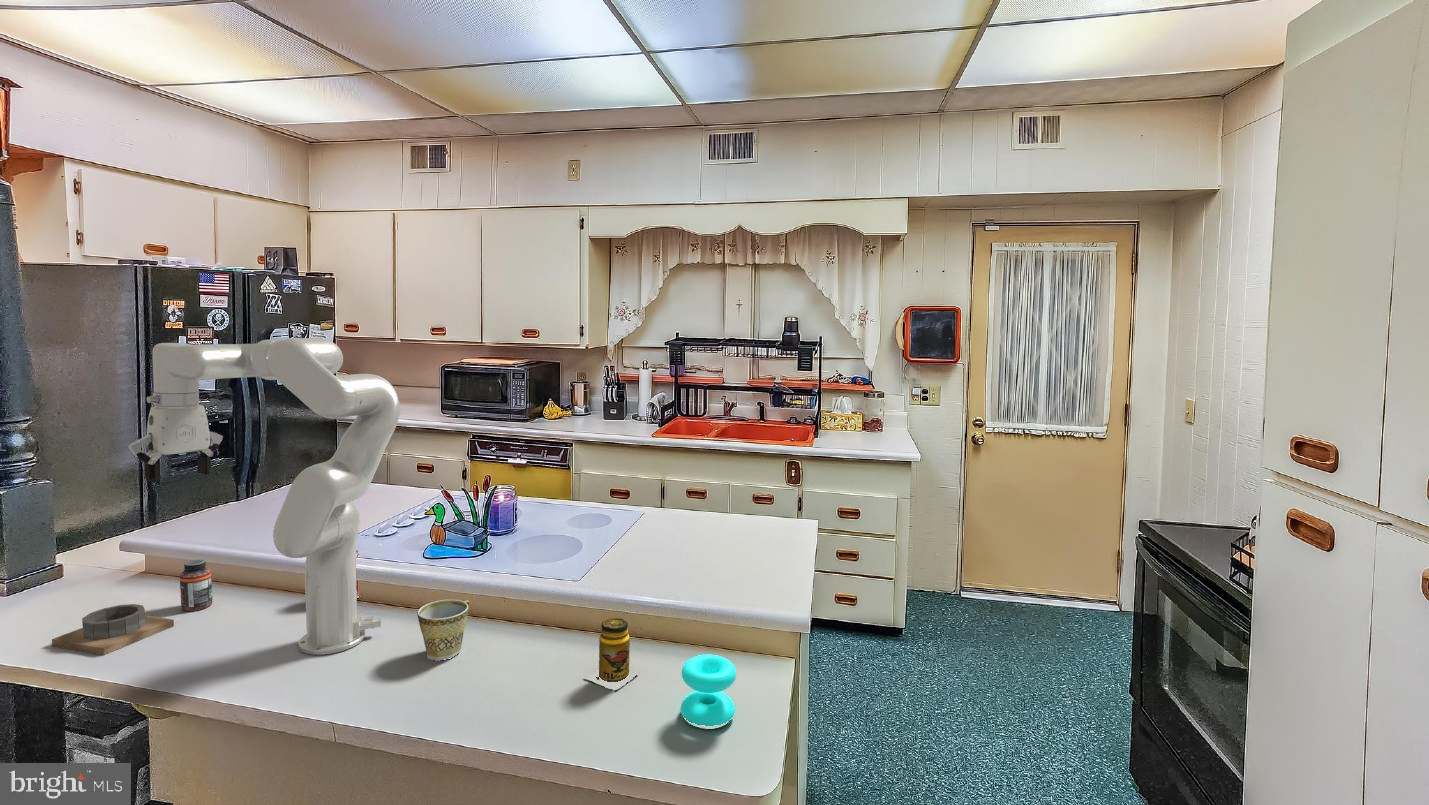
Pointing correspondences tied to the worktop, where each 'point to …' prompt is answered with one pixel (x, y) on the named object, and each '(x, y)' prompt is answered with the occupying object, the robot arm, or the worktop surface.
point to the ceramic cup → (443, 627)
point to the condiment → (614, 650)
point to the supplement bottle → (195, 586)
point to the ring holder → (112, 629)
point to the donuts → (708, 690)
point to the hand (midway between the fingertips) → (179, 477)
